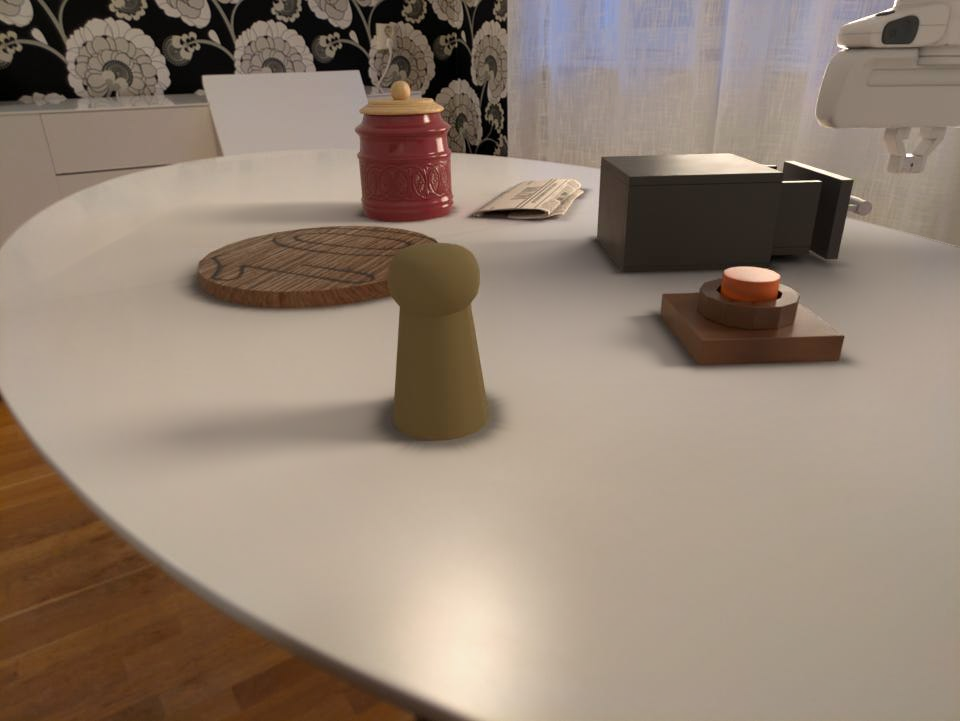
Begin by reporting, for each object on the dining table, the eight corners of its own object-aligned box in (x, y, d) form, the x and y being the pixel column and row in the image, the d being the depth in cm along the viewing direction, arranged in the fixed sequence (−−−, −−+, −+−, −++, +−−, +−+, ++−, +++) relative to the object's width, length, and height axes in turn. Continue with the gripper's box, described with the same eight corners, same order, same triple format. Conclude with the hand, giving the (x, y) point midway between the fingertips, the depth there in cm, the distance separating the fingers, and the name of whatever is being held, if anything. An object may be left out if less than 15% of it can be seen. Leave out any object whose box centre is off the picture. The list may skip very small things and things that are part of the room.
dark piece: (817, 228, 80) (830, 160, 76) (878, 258, 68) (896, 178, 65) (668, 233, 79) (675, 164, 76) (704, 263, 68) (714, 183, 64)
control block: (777, 315, 57) (785, 270, 55) (838, 365, 48) (850, 312, 46) (659, 319, 56) (664, 273, 55) (698, 370, 47) (705, 317, 46)
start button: (763, 287, 52) (767, 265, 52) (786, 304, 49) (790, 281, 48) (712, 288, 52) (715, 266, 52) (731, 306, 49) (734, 283, 48)
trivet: (373, 325, 57) (371, 303, 56) (143, 296, 65) (139, 277, 64) (477, 249, 78) (476, 233, 77) (294, 235, 86) (292, 220, 85)
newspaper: (562, 224, 88) (561, 205, 87) (475, 228, 93) (473, 210, 92) (593, 191, 108) (592, 175, 107) (520, 196, 112) (518, 180, 111)
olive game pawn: (372, 423, 41) (354, 249, 37) (442, 389, 45) (434, 228, 41) (440, 458, 38) (429, 269, 33) (510, 418, 42) (509, 244, 37)
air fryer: (719, 238, 80) (730, 153, 76) (768, 272, 68) (784, 172, 64) (596, 241, 80) (601, 156, 76) (622, 276, 67) (629, 176, 63)
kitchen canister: (386, 229, 88) (374, 83, 81) (348, 212, 98) (335, 81, 91) (470, 216, 94) (467, 79, 87) (427, 201, 104) (420, 78, 97)
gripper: (1020, 27, 68) (980, 166, 74) (822, 28, 68) (796, 169, 74) (1072, 24, 63) (1023, 176, 68) (856, 26, 62) (825, 179, 68)
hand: (904, 172), depth 71 cm, fingers closed
